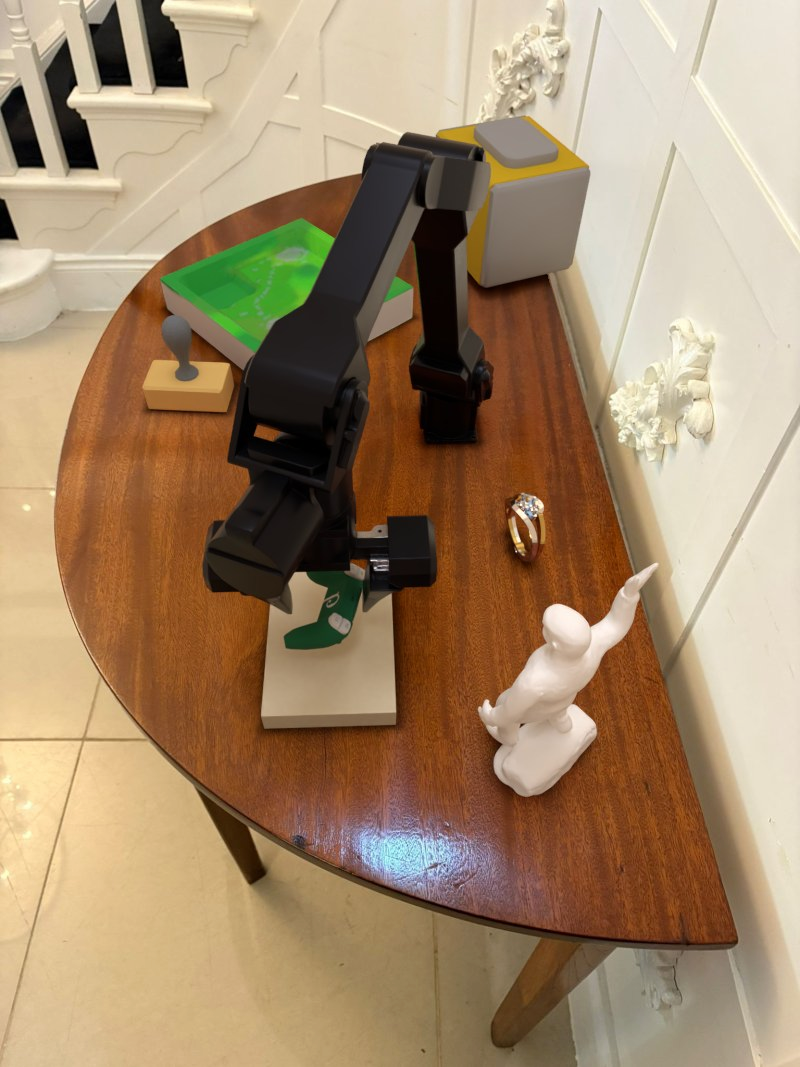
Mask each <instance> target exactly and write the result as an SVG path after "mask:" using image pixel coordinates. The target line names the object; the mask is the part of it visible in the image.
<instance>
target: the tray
mask: <svg viewBox="0 0 800 1067" xmlns="http://www.w3.org/2000/svg"><path fill="white" fill-rule="evenodd" d="M335 238H336V237H333V236H331V235H330V234H328V233H327V232H325V231H323V230H322V229H320V228H318V227H317V226H315V225H314V224H312V223H311V222H309V221H307V220H306V219H304V218H303V217H300V218H298V219H295V220H293V221H290V222H289V223H286V224H283V225H281V226H279V227H277V228H274V229H272V230H269V231H267V232H265V233H262V234H260V235H257V236H256V237H253V238H251V239H248V240H245V241H244V242H242V243H239V244H237V245H234V246H232V247H229V248H227V249H225V250H222V251H220V252H218V253H215V254H213V255H211V256H208V257H206V258H203V259H201V260H198V261H196V262H194V263H192V264H190V265H186V266H185V267H183V268H180V269H177V270H176V271H173V272H170V273H168V274H166V275H164V276H161V277H160V278H159V281H160V286H161V290H162V293H163V297H164V301H165V306H166V309H167V310H168V311H169V312H170V313H171V314H172V315H178V316H181V317H183V318H184V319H185V320H186V321H187V322H188V323H189V325H190V327H191V330H193V331H194V332H195V333H196V334H197V335H199V337H201V338H202V339H204V340H205V341H206V342H207V343H209V344H210V345H211V346H212V347H214V348H215V349H216V350H218V351H219V352H220V353H221V354H222V355H224V356H225V357H226V358H227V359H228V360H230V361H231V362H232V363H234V365H236V366H237V367H238V368H240V369H241V370H242V372H243V371H244V368H245V366H246V364H247V362H248V360H249V359H250V358H251V357H252V356H253V355H254V354H255V352H256V351H257V349H258V347H259V346H260V344H261V343H262V341H263V339H264V338H265V336H266V334H267V333H268V331H269V329H270V328H271V326H272V325H273V323H274V322H275V321H276V320H278V319H280V318H281V317H283V316H285V315H286V314H288V313H289V312H291V311H293V310H294V309H296V308H298V307H299V306H301V305H302V304H303V303H304V301H305V300H306V298H307V296H308V295H309V293H310V291H311V289H312V287H313V285H314V283H315V280H316V278H317V276H318V274H319V272H320V270H321V268H322V265H323V263H324V261H325V259H326V257H327V255H328V253H329V250H330V248H331V246H332V244H333V242H334V240H335ZM413 308H414V286H412V284H409V283H408V282H406V281H405V280H403V279H402V278H400V277H398V276H396V275H395V278H394V280H393V282H392V284H391V287H390V289H389V291H388V294H387V296H386V298H385V301H384V303H383V305H382V308H381V310H380V312H379V315H378V317H377V319H376V322H375V324H374V326H373V328H372V331H371V333H370V336H369V339H368V342H370V341H372V340H374V339H376V338H377V337H379V336H381V335H383V334H385V333H387V332H389V331H391V330H392V329H394V328H396V327H398V326H400V325H402V324H403V323H406V322H407V321H409V320H411V319H412V318H413Z"/></svg>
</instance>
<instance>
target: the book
mask: <svg viewBox="0 0 800 1067" xmlns="http://www.w3.org/2000/svg"><path fill="white" fill-rule="evenodd" d="M363 570H364V572H365V569H363ZM288 584H289V587H290V591H291V595H292V603H293V610H292V614H286V613H285V612H283V611H281V610H280V609H278V608H276V607H274V606H272V605H271V604H269V614H268V624H267V638H266V649H265V660H264V661H265V662H264V674H263V684H262V685H263V686H262V698H261V709H260V710H261V711H260V719H261V721H262V725H263V728H264V730H266V729H267V730H268V729H296V728H297V729H298V728H301V729H302V728H334V727H335V728H336V727H358V726H359V727H364V726H365V727H366V726H367V727H368V726H396V725H397V696H396V695H397V694H396V670H395V668H396V667H395V644H394V617H393V593H391V594H389V595H388V596H386V597H384V598H383V599H381V600H380V601H379V602H377V603H376V604H375V605H374V606H373V607H372V608H371V609H370V610H369V611H368V612H363V611H362V593H361V596H360V600H359V604H358V607H357V611H356V614H355V617H354V620H353V622H352V623H353V626H352V628H351V631H350V633H349V635H348V636H347V637H346V638H345V639H343V640H342V642H341V643H340V644H335V645H333V646H330V647H327V648H320V649H310V650H296V649H287V648H285V642H284V637H283V636H284V635H285V634H286V633H288V632H290V631H291V630H293V629H295V628H298V627H300V626H304V625H307V624H310V623H314V622H317V619H318V616H319V613H320V610H321V607H322V604H323V601H324V598H325V595H326V592H327V589H328V588H327V587H324V586H321V585H319V584H316V583H314V582H313V581H311V580H310V579H309V578H308V576H307V574H306V572H295V573H294V574H293V576H292V578H291V579H290V581H289V583H288Z"/></svg>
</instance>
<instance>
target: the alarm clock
mask: <svg viewBox="0 0 800 1067" xmlns="http://www.w3.org/2000/svg"><path fill="white" fill-rule="evenodd" d="M435 137H438V138H443V139H449V140H454V141H459V142H465V143H470V144H476V145H478V146H479V147H483V148H484V150H485V153H486V162H489V163H490V165H491V178H490V184H489V189H488V193H487V197H486V200H485V203H484V205H483V207H482V208H481V209H480V210H478V212H477V215H476V217H475V219H474V222H473V224H472V226H471V229H470V231H469V233H468V235H467V237H466V247H467V273H469V274H470V275H471V277H472V278H473V279H474V280H475V281H476V283H477V284H478V285H479V286H480V287H483V288H487V289H488V288H492V287H495V286H500V285H503V284H504V285H505V284H508V283H512V282H517V281H522V280H526V279H531V278H535V277H540V276H544V275H548V274H552V273H556V272H561V271H565V270H569V269H570V268H571V267H572V266H573V263H574V257H575V253H576V248H577V243H578V238H579V233H580V230H581V224H582V219H583V214H584V209H585V204H586V200H587V199H586V198H587V195H588V194H587V193H588V189H589V183H590V178H591V169H590V165H589V164H588V163H586V162H585V161H584V160H583V159H581V157H580V156H578V155H577V154H576V153H575V152H573V151H572V150H571V149H570V148H568V147H567V146H566V145H565V144H563V143H562V142H561V141H560V140H558V138H556V137H555V136H554V135H553V134H552V133H550V132H549V131H548V130H547V129H546V128H545V127H543V126H542V125H540V124H539V123H538V122H537V121H536V120H534V118H532V117H531V116H530V115H525V114H524V115H519V116H513V117H506V118H500V119H496V120H489V121H483V122H478V123H472V124H465V125H459V126H453V127H448V128H442V129H439V130H438V131H437V132H436V133H435Z"/></svg>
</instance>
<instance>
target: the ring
mask: <svg viewBox="0 0 800 1067" xmlns="http://www.w3.org/2000/svg"><path fill="white" fill-rule="evenodd" d="M544 511H545V506H544V503H543V501H542V500H540V498H538V497H537V496H535V495H533V494H530V493H527V492H521V493H517V494H514V495H513V496H511V497H507V498H505V499H504V514H505V521H506V525H507V529H508V534H509V537H510V540H511V543H512V546H513V551H514V553H515V554H516V555H517V556H518V557H519V559H520V560H522V561H523V562H532V561H537V560H538V559H539V558H540V557H541V555H542V553H543V551H544V547H545V544H546V534H547V533H546V522H545V517H544V514H543V513H544ZM516 515H517V516H518V517H519V518H520V520H521V521H522V522H523V524H524V525H525V527H526V528H527V530H528V533H529V537H530V549H529V552H528V551H527V550H526V549H525V544H524V542H523V541H522V540H521V538H520V535H519V531H518V528H517V522H516ZM533 522H535V525H536V528H535V526H534V524H533ZM536 531H537V532H536Z"/></svg>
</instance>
